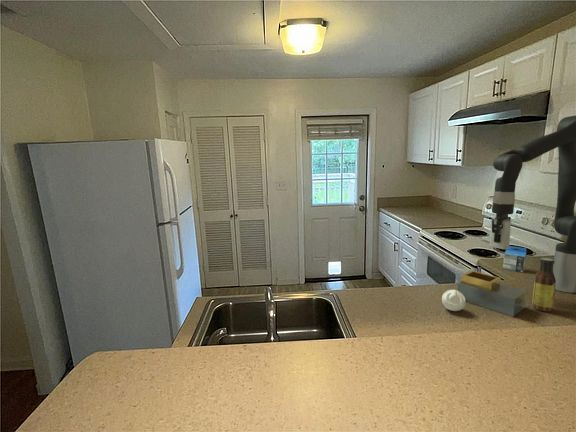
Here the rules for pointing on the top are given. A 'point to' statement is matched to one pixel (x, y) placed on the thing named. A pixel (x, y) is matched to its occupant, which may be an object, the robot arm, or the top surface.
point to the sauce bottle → (544, 286)
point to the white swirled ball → (453, 300)
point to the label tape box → (514, 259)
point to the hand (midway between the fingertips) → (499, 241)
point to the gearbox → (491, 293)
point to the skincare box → (504, 236)
